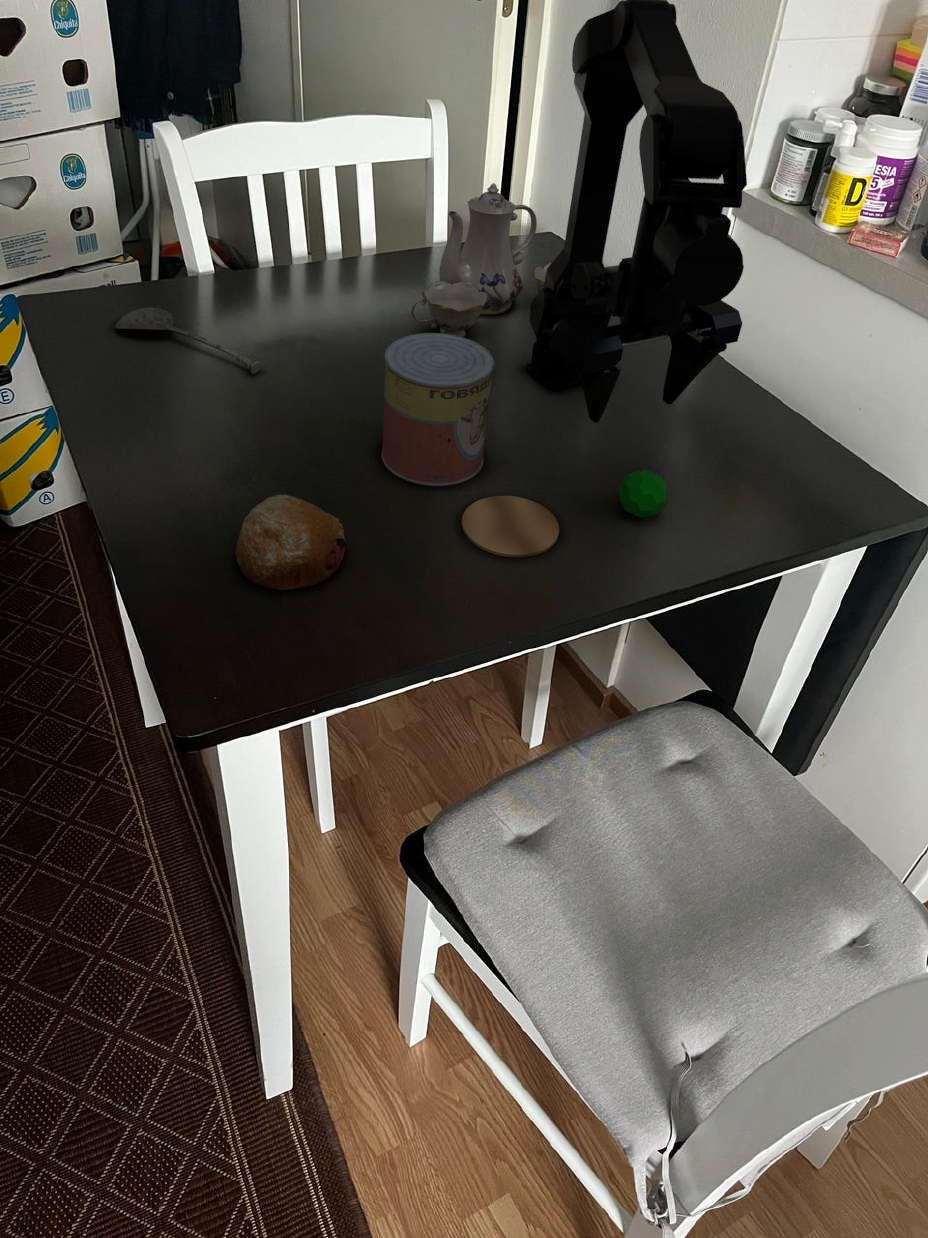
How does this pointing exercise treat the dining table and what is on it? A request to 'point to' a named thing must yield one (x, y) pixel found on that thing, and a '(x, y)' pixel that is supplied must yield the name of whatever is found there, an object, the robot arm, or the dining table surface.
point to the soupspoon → (173, 330)
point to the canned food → (435, 408)
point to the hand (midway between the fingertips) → (631, 411)
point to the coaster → (510, 526)
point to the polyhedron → (642, 493)
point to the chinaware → (479, 266)
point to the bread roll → (289, 544)
